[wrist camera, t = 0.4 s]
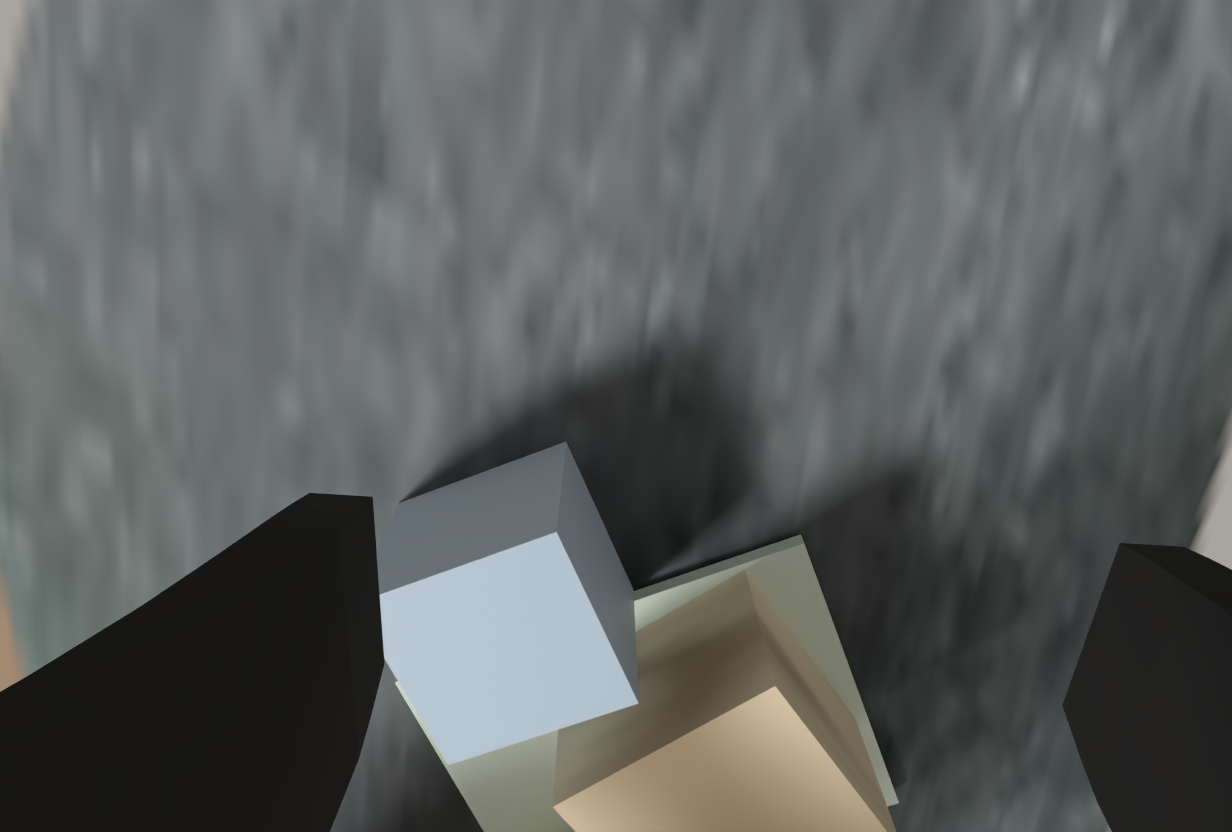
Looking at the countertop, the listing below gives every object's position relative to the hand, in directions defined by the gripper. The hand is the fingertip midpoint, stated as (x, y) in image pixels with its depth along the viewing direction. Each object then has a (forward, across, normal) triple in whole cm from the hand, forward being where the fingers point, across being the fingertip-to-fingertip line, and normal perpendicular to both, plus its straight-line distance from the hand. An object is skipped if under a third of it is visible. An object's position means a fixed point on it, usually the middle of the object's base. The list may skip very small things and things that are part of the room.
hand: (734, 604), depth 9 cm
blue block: (+10, +3, +6) cm, 12 cm away
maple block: (+9, -1, +10) cm, 14 cm away
